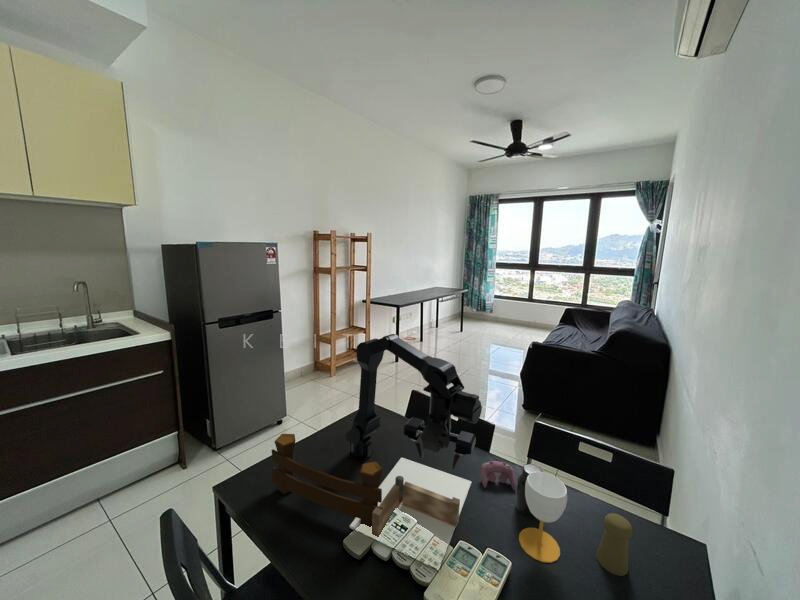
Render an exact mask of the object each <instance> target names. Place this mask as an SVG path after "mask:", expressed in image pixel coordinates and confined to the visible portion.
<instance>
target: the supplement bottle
mask: <svg viewBox="0 0 800 600" xmlns="http://www.w3.org/2000/svg"><path fill="white" fill-rule="evenodd" d="M534 472H543V469H541V467H540V466H538V465H536V464H534V463H533V464H532V463H526V464H524V465H523V467H522V472H521V473H520V474H519V475H518V477H517V483H516V495H515V497H516V498H515V507H516V510H517V511H518V513H519V514H520V515H521V516H523V517H525V518H527V519H528V520H538V519H537V518H536V517H535V516H534V515H533V514H532V513H531V512H530V510H529V507H528V505H527V502H526V497H525V484H526V480H527V477H528V475H529V474H530V473H534Z"/></svg>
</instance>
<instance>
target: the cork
mask: <svg viewBox="0 0 800 600" xmlns="http://www.w3.org/2000/svg"><path fill="white" fill-rule="evenodd" d="M603 526H604V528H605V530H604V531H603V535H602V538H601V541H600V543H599V546H598V548H597V551H596V555H595V557H596V559H597V562H598V563H599V565H600V566H601V567H602V568H603V569H605V570H606V571H607V572H609V573H610V574H613V575H616V576H621V577H623V576H625V575H627V574H628V572H629V540H630V539H631V537H632V536H633V527H632V524H631V523H630V522H629V521H628V519H627V518H625V517H624V516H622V515H620V514H618V513H612V512H611V513H607V515H605V517H604V519H603Z"/></svg>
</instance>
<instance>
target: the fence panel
mask: <svg viewBox="0 0 800 600" xmlns="http://www.w3.org/2000/svg"><path fill="white" fill-rule="evenodd" d="M403 503H404V504H407V505H409V506H411V507H414V508H416V509H419V510H421V511H423V512H426V513H428V514H431V515H433V516H435V517H438V518H440V519H443V520H445V521H447V522H449V523H451V524H453V525H457V526H458V524H457V523H459V521H458V520H459V519H460V516H459V506H460V499H457V498H454V497H453V498H452V499H450V498H448V497H445V496H442V495H440V494H437V493H434V492H432V491H429V490H427V489H424V488H421V487H419V486H416V485H414V484H411V483H408V482H405V483H404V485H403Z"/></svg>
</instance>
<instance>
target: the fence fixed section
mask: <svg viewBox="0 0 800 600" xmlns="http://www.w3.org/2000/svg"><path fill="white" fill-rule="evenodd" d="M403 484H404V478H403V477H402V476H397V477H396V479H395V484H394V485H393V487H392V488H391V490H390V491H389V493H388V494H387V495H386V497H385V498H384V500H383V501H382V503H381V504H380V505H379V507H382V508H383V510H382V509H380V508H378V507H376V508H375V509H374V511H373V512H372V534H373V535H375V536H377V537H379V535H380V534H381V532H382V530H383V528H384V527H385V525H386V523H387V521H388V520H389V518H390V516H391V515H392V513H393V511H394V510H395V508H396V507H397V506H398V504H399V503H401V502H402V501H403Z"/></svg>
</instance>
